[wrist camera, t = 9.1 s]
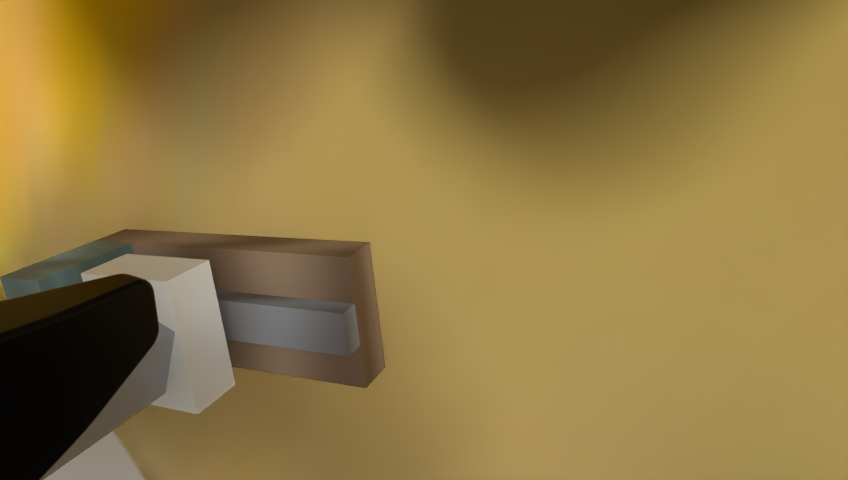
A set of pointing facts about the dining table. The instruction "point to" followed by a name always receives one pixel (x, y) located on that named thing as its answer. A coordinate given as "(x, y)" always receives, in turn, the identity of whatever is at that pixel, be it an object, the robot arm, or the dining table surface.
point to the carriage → (168, 346)
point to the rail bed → (259, 297)
